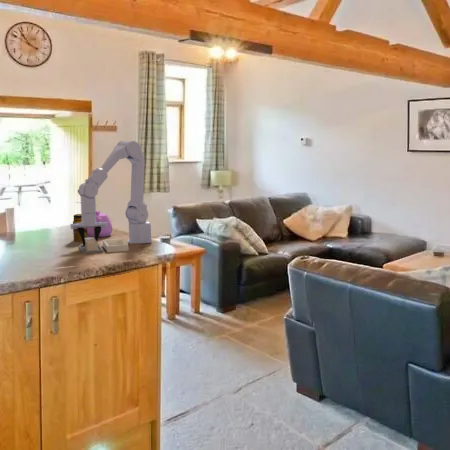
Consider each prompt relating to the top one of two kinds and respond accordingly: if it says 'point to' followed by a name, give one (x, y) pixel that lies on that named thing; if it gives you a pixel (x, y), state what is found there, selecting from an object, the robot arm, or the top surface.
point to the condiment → (75, 232)
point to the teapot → (104, 230)
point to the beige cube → (91, 245)
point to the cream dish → (115, 245)
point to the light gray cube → (88, 240)
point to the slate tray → (90, 251)
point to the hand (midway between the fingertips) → (89, 245)
